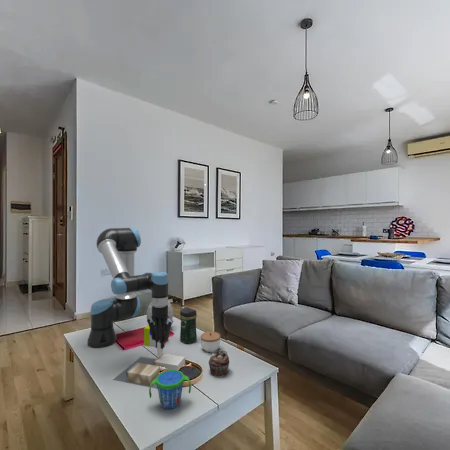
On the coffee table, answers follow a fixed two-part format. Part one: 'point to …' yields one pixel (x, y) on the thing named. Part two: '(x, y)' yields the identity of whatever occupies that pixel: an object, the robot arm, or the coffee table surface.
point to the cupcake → (219, 363)
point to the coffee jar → (188, 325)
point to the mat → (122, 375)
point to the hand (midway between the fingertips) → (160, 354)
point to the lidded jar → (210, 341)
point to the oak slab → (142, 373)
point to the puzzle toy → (148, 338)
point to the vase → (170, 311)
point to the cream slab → (170, 361)
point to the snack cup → (170, 387)
